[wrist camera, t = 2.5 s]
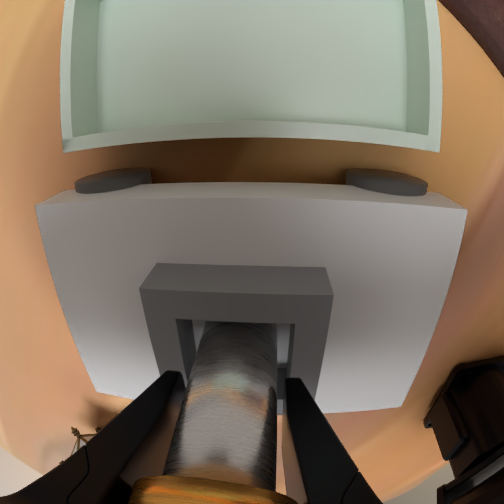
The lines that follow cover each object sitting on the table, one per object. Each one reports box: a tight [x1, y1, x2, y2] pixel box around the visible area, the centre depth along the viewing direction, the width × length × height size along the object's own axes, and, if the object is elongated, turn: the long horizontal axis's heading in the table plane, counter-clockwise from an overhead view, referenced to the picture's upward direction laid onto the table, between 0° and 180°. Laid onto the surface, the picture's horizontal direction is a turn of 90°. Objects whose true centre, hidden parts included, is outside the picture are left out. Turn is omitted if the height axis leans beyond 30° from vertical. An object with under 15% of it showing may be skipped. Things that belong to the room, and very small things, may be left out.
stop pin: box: [128, 321, 298, 504], centre depth 7 cm, size 3×3×7 cm
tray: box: [60, 0, 442, 153], centre depth 9 cm, size 13×7×2 cm, turn 91°
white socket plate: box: [35, 168, 468, 415], centre depth 11 cm, size 14×10×6 cm
